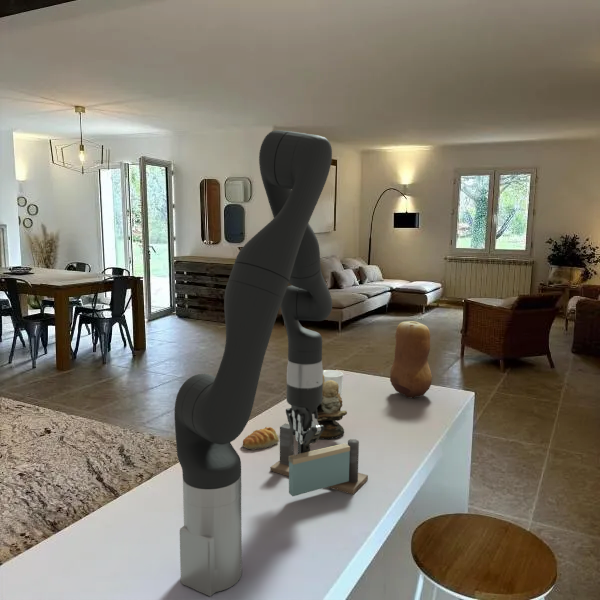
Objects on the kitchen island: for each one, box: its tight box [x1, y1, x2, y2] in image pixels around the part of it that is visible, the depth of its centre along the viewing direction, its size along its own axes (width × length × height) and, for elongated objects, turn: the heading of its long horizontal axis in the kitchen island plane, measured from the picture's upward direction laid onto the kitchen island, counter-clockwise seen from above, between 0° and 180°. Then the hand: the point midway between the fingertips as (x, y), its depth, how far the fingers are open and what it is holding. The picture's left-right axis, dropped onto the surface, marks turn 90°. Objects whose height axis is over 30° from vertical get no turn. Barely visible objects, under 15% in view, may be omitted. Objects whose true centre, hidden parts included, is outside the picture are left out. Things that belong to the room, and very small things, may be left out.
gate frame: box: [269, 423, 369, 495], centre depth 124 cm, size 8×21×10 cm, turn 60°
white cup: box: [323, 369, 344, 398], centre depth 173 cm, size 8×8×10 cm
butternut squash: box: [389, 320, 433, 399], centre depth 180 cm, size 14×13×25 cm
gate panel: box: [288, 442, 350, 497], centre depth 116 cm, size 2×14×8 cm, turn 120°
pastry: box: [242, 426, 280, 450], centre depth 142 cm, size 9×7×4 cm
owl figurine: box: [317, 375, 348, 440], centre depth 151 cm, size 18×12×17 cm, turn 50°
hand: (303, 458), depth 117 cm, fingers closed
